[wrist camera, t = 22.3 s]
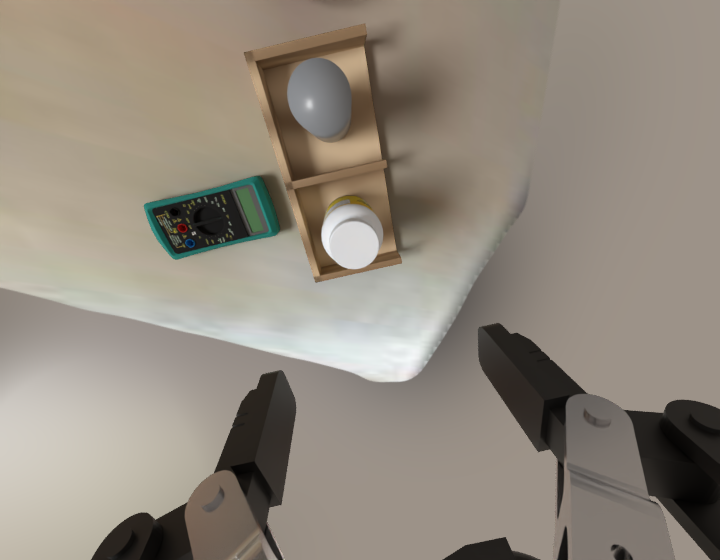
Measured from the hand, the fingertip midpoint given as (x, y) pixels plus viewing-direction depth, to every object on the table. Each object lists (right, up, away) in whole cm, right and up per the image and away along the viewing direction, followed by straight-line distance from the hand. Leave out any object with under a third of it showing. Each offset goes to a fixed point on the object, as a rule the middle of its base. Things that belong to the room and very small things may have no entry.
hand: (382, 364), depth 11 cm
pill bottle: (-2, +11, +25) cm, 27 cm away
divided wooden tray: (-4, +17, +23) cm, 29 cm away
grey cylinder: (-4, +22, +19) cm, 29 cm away
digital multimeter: (-19, +12, +25) cm, 33 cm away
